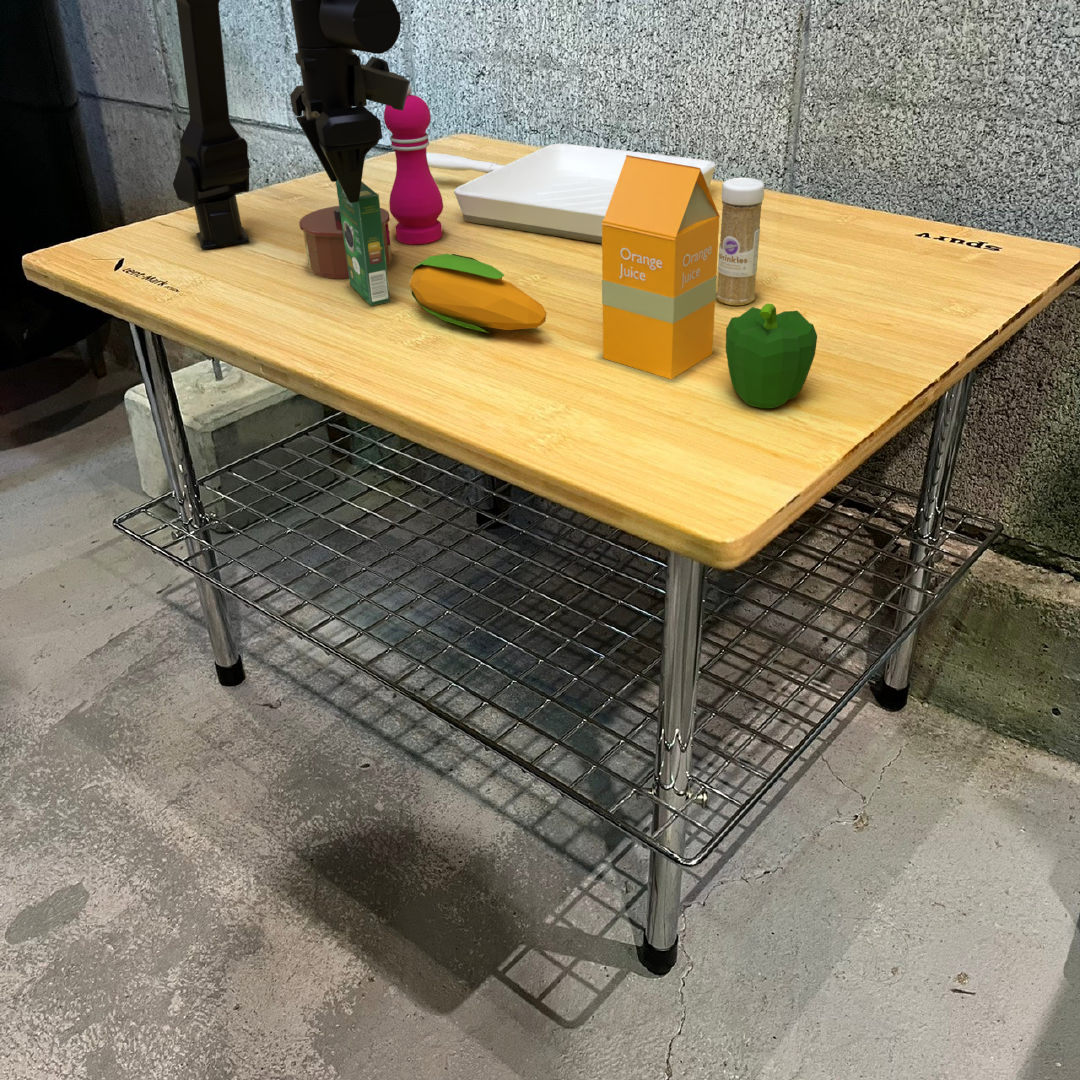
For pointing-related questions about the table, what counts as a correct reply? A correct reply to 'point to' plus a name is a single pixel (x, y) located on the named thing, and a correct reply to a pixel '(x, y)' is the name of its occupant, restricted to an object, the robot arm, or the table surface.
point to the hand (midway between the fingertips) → (344, 191)
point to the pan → (548, 188)
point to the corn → (473, 294)
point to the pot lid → (329, 222)
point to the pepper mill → (413, 174)
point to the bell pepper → (769, 355)
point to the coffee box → (364, 245)
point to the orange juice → (659, 268)
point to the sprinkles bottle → (739, 240)
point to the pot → (335, 254)
